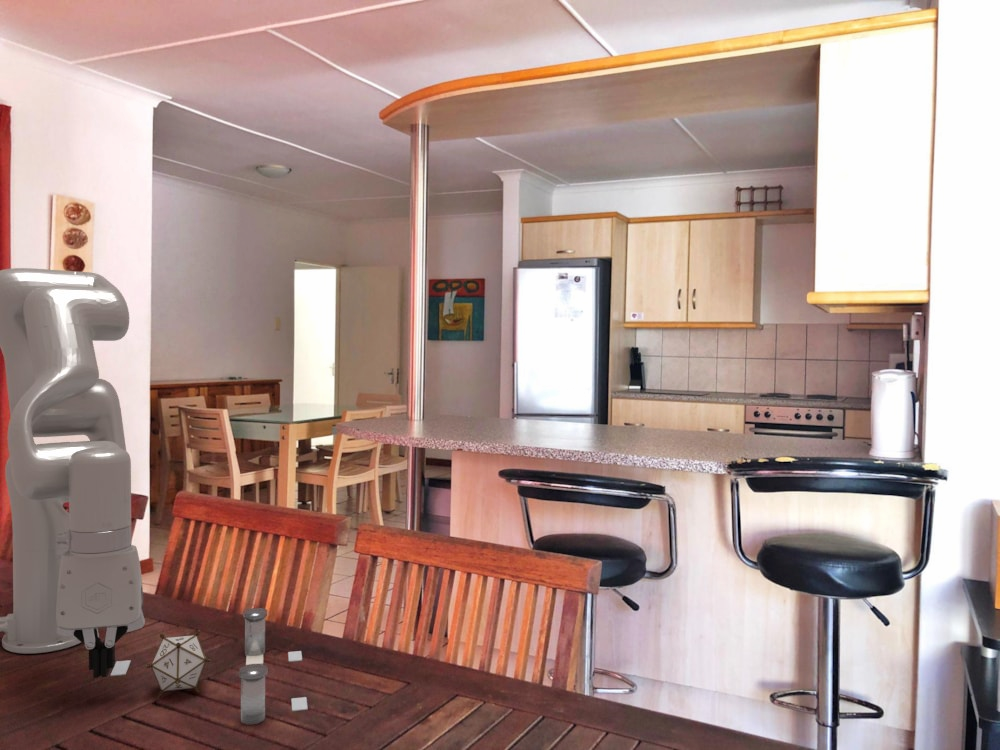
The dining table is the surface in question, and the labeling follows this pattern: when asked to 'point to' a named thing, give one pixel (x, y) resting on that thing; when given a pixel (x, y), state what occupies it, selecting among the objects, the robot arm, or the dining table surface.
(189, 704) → the dining table surface
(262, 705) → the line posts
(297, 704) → the distance lines
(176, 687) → the game die
